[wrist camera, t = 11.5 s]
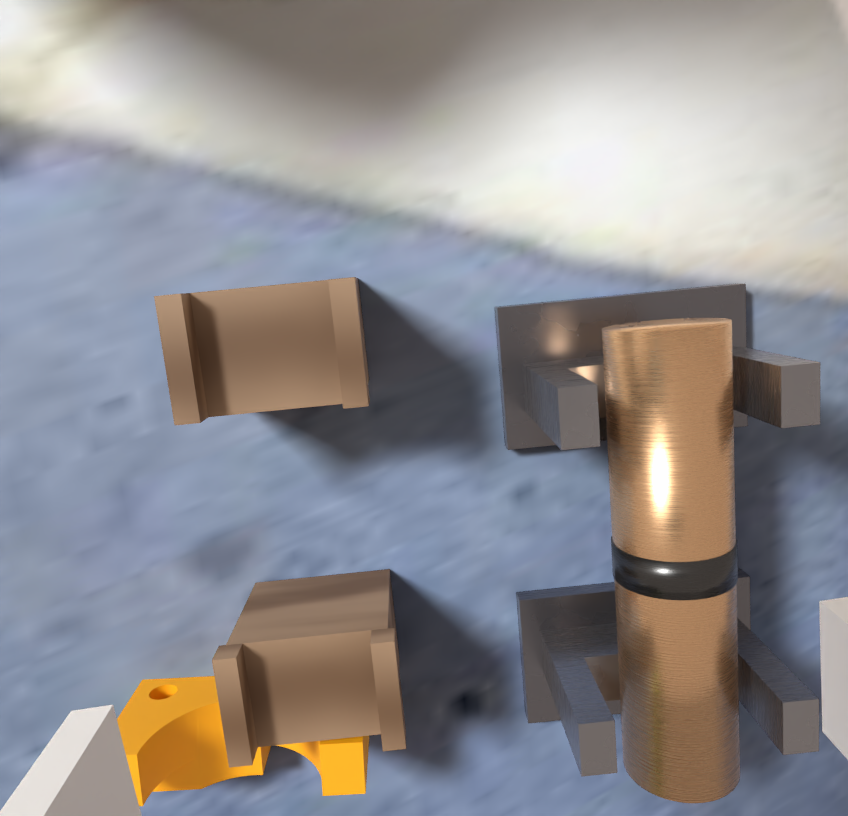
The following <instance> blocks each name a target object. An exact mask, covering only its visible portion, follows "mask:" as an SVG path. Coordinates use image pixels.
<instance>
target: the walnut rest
mask: <svg viewBox="0 0 848 816" xmlns="http://www.w3.org/2000/svg"><path fill="white" fill-rule="evenodd" d="M154 298H155V305H156V311H157V317H158V323H159V330H160V336H161V342H162V349H163V355H164V361H165V368H166V374H167V380H168V386H169V393H170V399H171V405H172V412H173V418H174V424H175V425H183V424H193V423H201V422H202V421H203V420H205V419H206V418H208V417H214V416H224V415H234V414H244V413H254V412H265V411H275V410H285V409H295V408H305V407H316V406H326V405H336V404H343V409H346V408H356V407H366V406H369V403H370V398H369V389H368V382H369V374H368V365H367V355H366V346H365V337H364V328H363V318H362V309H361V300H360V291H359V282H358V278H356V277H352V278H341V279H331V280H323V281H313V282H302V283H292V284H281V285H271V286H260V287H250V288H239V289H229V290H218V291H208V292H197V293H186V294H174V295H163V296H154ZM212 663H213V670H214V676H215V682H216V689H217V695H218V701H219V707H220V714H221V720H222V726H223V733H224V739H225V745H226V751H227V758H228V764H229V768H230V767H240V766H249V765H253V762H254V758H255V755H256V752H257V749H258V747H265V746H275V745H284V744H293V743H303V742H312V741H322V740H331V739H341V738H350V737H360V736H369V735H379V734H381V739H382V748H383V751H391V750H400V749H406V728H405V719H404V710H403V701H402V692H401V682H400V673H399V650H398V641H397V632H396V622H395V613H394V604H393V595H392V586H391V576H390V569H386V570H377V571H367V572H357V573H347V574H337V575H328V576H318V577H308V578H298V579H288V580H279V581H269V582H259V583H255V585H254V587H253V590H252V592H251V594H250V596H249V598H248V600H247V602H246V604H245V606H244V609H243V611H242V613H241V615H240V617H239V619H238V621H237V623H236V625H235V627H234V630H233V632H232V634H231V636H230V638H229V640H228V642H227V644H226V645H222V646H219V647H218V649H217V651H216V653H215V655H214V657H213V659H212Z"/></svg>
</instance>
